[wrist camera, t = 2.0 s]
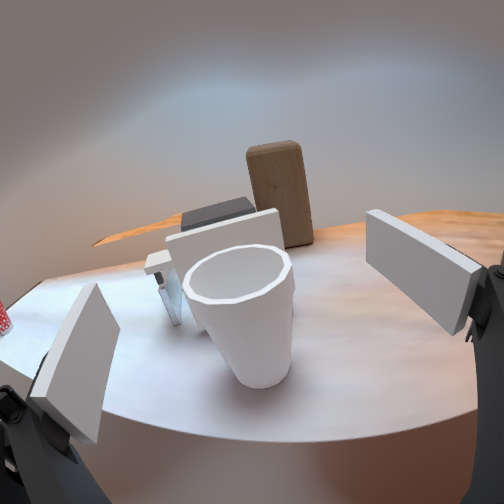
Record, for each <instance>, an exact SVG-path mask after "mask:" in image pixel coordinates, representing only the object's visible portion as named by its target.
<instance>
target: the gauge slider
mask: <svg viewBox="0 0 504 504" xmlns="http://www.w3.org/2000/svg"><path fill="white" fill-rule="evenodd" d="M165 242H166V245H167V248H168V249H167V250H163V251H160V252H156V253H153V254H149V255H148V257H147V260H146V264H145V267H144V270H145V272H146V274H147V275H150V274H153V273H154V275H155V278H156V280H157V283H158V285H160V284H163V283H164V279H163V277H162V274H161V272H160V271H164V270H167V269H171V268H175V270H176V273H177V276H178V278H179V281H180V284H181V286H182V285H183V281H184V278H185V275H186V273H187V272H188V271H189V270H190V269H191V268H192V267H193V266H194V265H195V264H196V263H197V262H199V261H200V260H202V259H204V258H206V257H208V256H210V255H211V254H213V253H215V252H218V251H222V250H225V249H228V248H231V247H235V246H242V245H252V244H260V245H268V246H275V247H277V248H279V249H280V250H282V251H284V252H285V247H284V241H283V235H282V229H281V223H280V217H279V211H278V210H277V209H275V208H272V209H268V210H264V211H260V212H256V213H252V214H248V215H244V216H240V217H237V218H233V219H229V220H225V221H222V222H218V223H214V224H211V225H207V226H203V227H200V228H196V229H192V230H189V231H185V232H182V233H178V234H175V235H171V236H168V237H166V241H165ZM182 289H183V288H182ZM183 291H184V290H183ZM184 294H185V293H184ZM185 296H186V295H185ZM186 299H187V298H186ZM187 301H188V300H187ZM188 304H189V303H188ZM189 306H190V305H189ZM190 309H191V308H190ZM191 311H192V310H191ZM192 314H193V316H194V319H195V321H196V323H197V326H198V328H199V330H201V329H205V327H204V326H203V324H202V322H201V321H198V320H197V318H196V316H195V315H194V313H193V311H192Z"/></svg>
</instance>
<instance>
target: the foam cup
mask: <svg viewBox="0 0 504 504" xmlns="http://www.w3.org/2000/svg"><path fill="white" fill-rule="evenodd" d="M182 288H183V290H184V293H185V295H186V298H187V300H188V303H189V305H190V308H191V310H192V311H193V313H194V315H195V316H196V318H197V320H198V321H201V322H202V324H203V326H204V327H205V329H206V331H207V332H208V334H209V336H210V337H211V339H212V340H213V342H214V344H215V345H216V347H217V348H218V350H219V351H220V353H221V355H222V356H223V358H224V359H225V361H226V362H227V364H228V365H229V367H230V368H231V370H232V371H233V373H234V374H235V376H236V377H237V379H238V380H239V381H240V383H241V384H243V385H245V386H247V387H249V388H251V389H266V388H268V387H271V386H274V385H277V384H278V383H279V382H280V381H282V380H283V379H284V378H285V377H286V376H287V374H288V371H289V369H290V363H291V342H292V309H293V292H294V290H295V284H294V277H293V270H292V264H291V261H290V259H289V256H288V253H286V252H284V251H282V250H280V249H279V248H277V247H275V246H268V245H260V244H252V245H242V246H235V247H231V248H228V249H225V250H222V251H218V252H215V253H213V254H211V255H210V256H208V257H206V258H204V259H202V260H200V261H199V262H197V263H196V264H195V265H194V266H193V267H192V268H191V269H190V270H189V271H188V272H187V273H186V275H185V278H184V281H183V285H182Z"/></svg>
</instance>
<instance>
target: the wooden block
mask: <svg viewBox="0 0 504 504" xmlns="http://www.w3.org/2000/svg"><path fill="white" fill-rule="evenodd" d="M246 160H247V165H248V170H249V174H250V179H251V183H252V189H253V194H254V199H255V204H256V209H257V212H260V211H264V210H268V209H272V208H275V209H277V210H278V211H279V217H280V223H281V229H282V235H283V241H284V247H285V248H286V247H292V246H298V245H304V244H310V243H312V242H313V239H314V237H313V228H312V220H311V212H310V205H309V197H308V189H307V182H306V175H305V169H304V163H303V156H302V150H301V147H300V145H299V144H298V143H296V142H294V141H291V140H288V141H282V142H275V143H269V144H263V145H258V146H252V147H250V148H249V149H248V151H247V153H246Z"/></svg>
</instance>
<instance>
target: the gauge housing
mask: <svg viewBox="0 0 504 504" xmlns="http://www.w3.org/2000/svg"><path fill="white" fill-rule="evenodd" d="M252 213H256V210H255V207H254V206H253V205H252V204H251V203H250V201H249V200H248V199H247V198H246V197H241V198H237V199H233V200H230V201H226V202H222V203H218V204H214V205H211V206H207V207H204V208H200V209H196V210H192V211H189V212H185V213H182V221H181V230H182V232H185V231H189V230H192V229H196V228H200V227H203V226H207V225H211V224H214V223H218V222H222V221H225V220H229V219H233V218H237V217H240V216H244V215H248V214H252ZM161 274H162V277H163V279H164V283H163V284H160V285H159V290H158V291H159V293H160V296H161V298H162V300H163V302H164V305H165V307H166V309H167V311H168V313H169V316H170V318H171V319H172V321H173V323H174V325H179V324H181V288H182V286H181V284H180V281H179V278H178V276H177V273H176V270H175V268H171V269H167V270H164V271H162V273H161Z"/></svg>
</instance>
